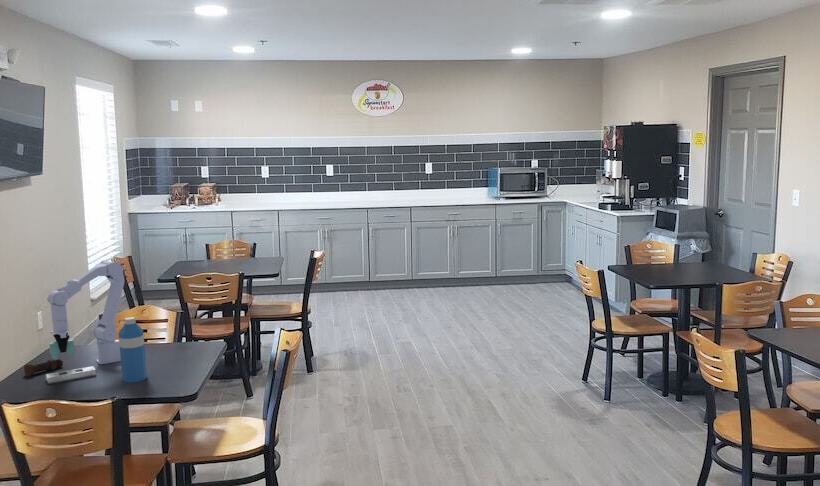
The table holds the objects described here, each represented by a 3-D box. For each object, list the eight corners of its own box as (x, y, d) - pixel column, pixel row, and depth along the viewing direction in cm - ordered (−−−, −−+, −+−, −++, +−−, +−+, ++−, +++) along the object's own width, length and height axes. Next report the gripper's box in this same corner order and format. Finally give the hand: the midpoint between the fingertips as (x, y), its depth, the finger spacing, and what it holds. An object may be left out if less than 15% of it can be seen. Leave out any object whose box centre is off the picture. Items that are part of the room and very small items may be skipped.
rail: (93, 371, 320) (93, 366, 320) (96, 375, 315) (95, 369, 315) (46, 380, 311) (45, 374, 310) (48, 384, 306) (47, 378, 305)
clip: (73, 354, 324) (72, 339, 323) (74, 355, 322) (73, 340, 321) (50, 358, 319) (49, 342, 318) (51, 359, 317) (50, 344, 316)
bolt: (63, 371, 329) (28, 379, 317) (57, 364, 332) (22, 372, 319) (66, 360, 327) (31, 368, 315) (60, 353, 329) (25, 361, 317)
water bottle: (151, 376, 312) (147, 316, 308) (136, 383, 303) (131, 321, 300) (132, 374, 315) (127, 315, 311) (117, 381, 306) (112, 320, 303)
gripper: (46, 317, 322) (50, 349, 324) (51, 324, 310) (54, 356, 312) (65, 315, 326) (68, 346, 328) (70, 321, 314) (73, 353, 316)
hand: (62, 351), depth 320 cm, fingers closed on clip, 2 cm apart
